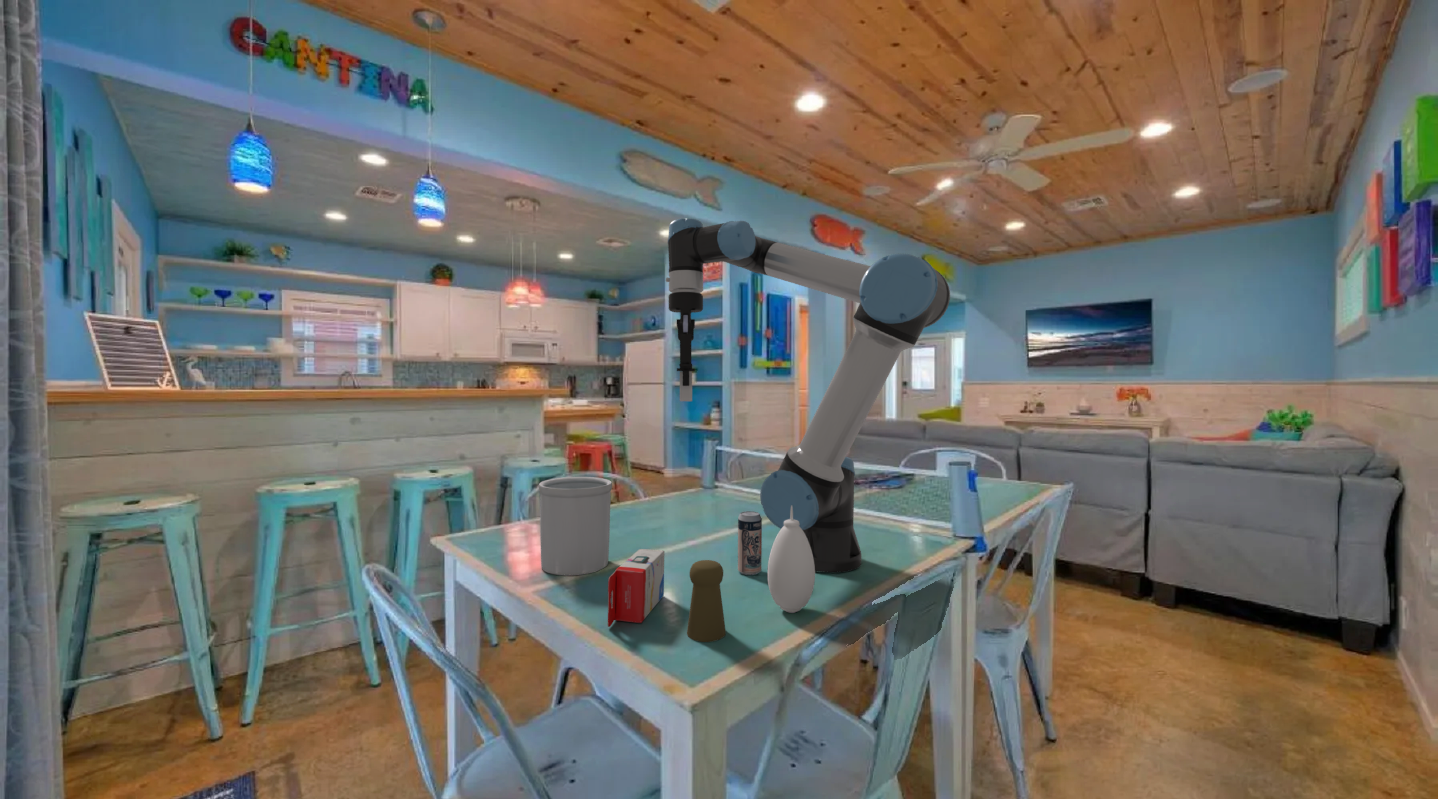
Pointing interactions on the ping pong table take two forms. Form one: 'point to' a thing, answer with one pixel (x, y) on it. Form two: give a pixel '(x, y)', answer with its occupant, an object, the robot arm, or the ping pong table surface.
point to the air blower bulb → (791, 567)
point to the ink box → (636, 586)
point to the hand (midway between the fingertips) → (685, 401)
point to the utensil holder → (574, 524)
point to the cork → (706, 602)
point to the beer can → (749, 543)
